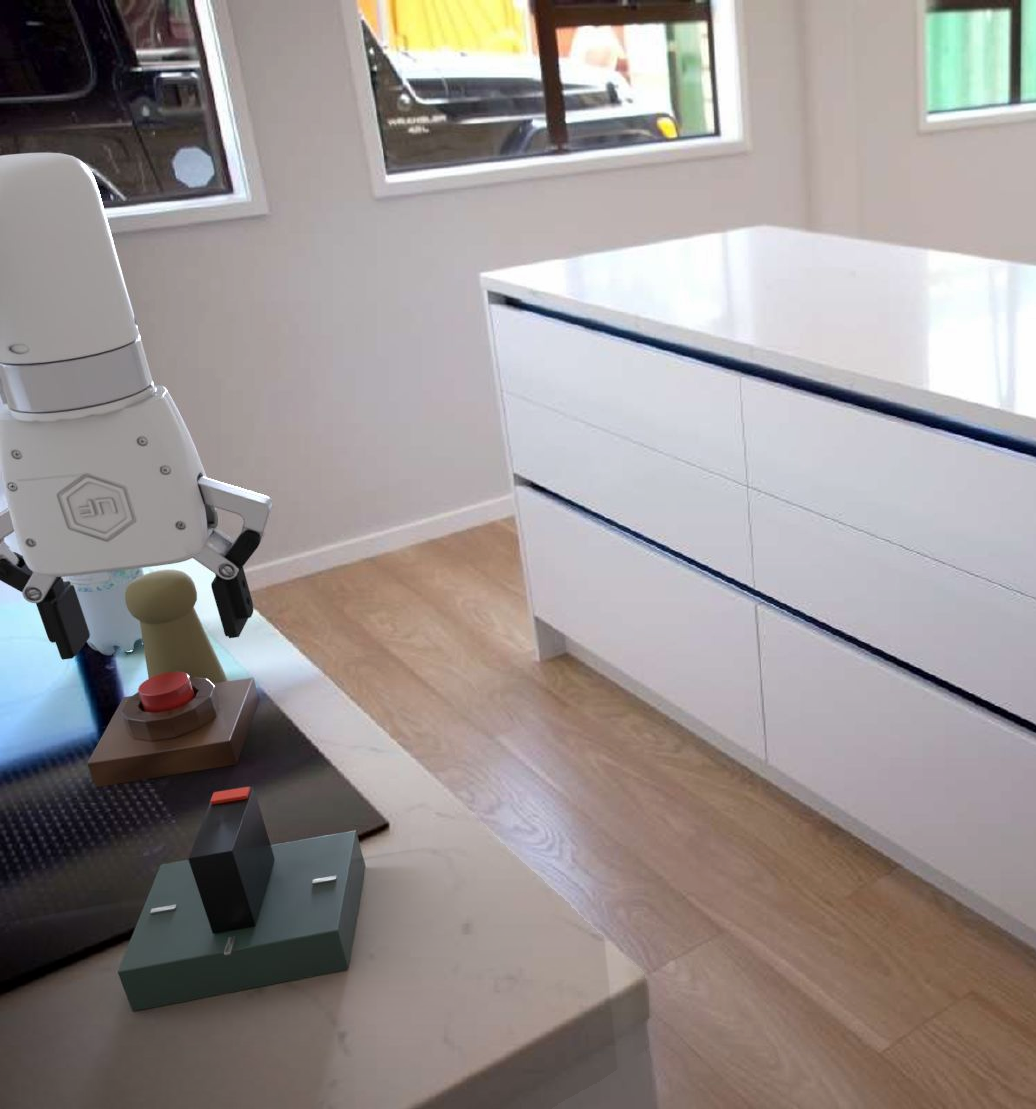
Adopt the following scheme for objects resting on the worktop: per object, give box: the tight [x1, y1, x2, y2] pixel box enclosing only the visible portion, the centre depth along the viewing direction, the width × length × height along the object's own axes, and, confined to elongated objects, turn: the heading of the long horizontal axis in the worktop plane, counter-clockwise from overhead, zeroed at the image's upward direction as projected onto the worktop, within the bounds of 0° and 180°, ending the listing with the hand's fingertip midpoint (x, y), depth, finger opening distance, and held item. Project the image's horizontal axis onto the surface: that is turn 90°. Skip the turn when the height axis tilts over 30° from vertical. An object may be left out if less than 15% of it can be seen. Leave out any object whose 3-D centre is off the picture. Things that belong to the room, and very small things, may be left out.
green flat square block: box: [117, 830, 366, 1012], centre depth 78 cm, size 12×11×3 cm
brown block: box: [86, 677, 260, 788], centre depth 99 cm, size 10×10×4 cm
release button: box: [137, 672, 195, 713], centre depth 98 cm, size 4×4×2 cm
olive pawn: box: [125, 569, 229, 684], centre depth 104 cm, size 6×6×11 cm
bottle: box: [65, 568, 145, 656], centre depth 112 cm, size 7×7×20 cm
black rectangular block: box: [187, 786, 275, 934], centre depth 76 cm, size 6×2×6 cm, turn 12°
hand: (158, 638), depth 80 cm, fingers open, 9 cm apart
